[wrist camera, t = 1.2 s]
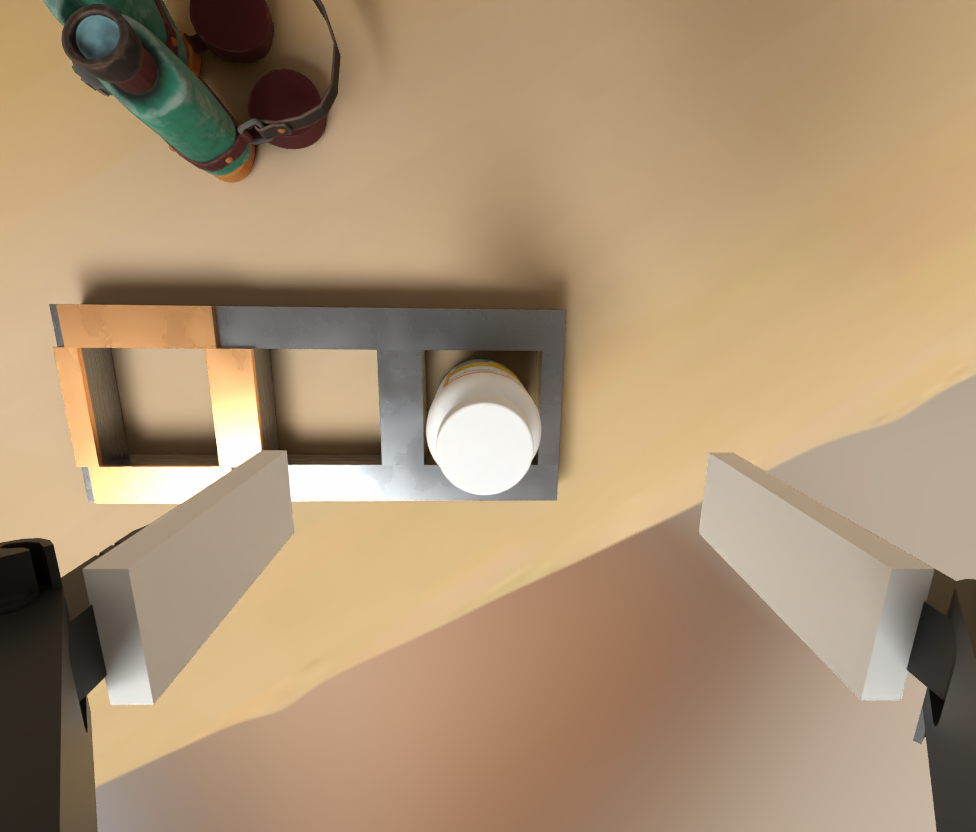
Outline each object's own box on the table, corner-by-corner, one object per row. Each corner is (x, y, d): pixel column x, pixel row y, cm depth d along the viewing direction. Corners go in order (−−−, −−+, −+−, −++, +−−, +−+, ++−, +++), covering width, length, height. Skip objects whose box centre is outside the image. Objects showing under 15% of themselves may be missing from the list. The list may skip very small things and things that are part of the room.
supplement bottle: (490, 461, 29) (498, 536, 20) (418, 411, 28) (391, 465, 19) (543, 392, 28) (579, 436, 19) (471, 339, 27) (470, 356, 18)
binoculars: (340, -18, 15) (69, 138, 15) (376, 124, 25) (216, 216, 25) (159, -352, 13) (-155, -177, 13) (279, -51, 23) (105, 48, 23)
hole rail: (114, 488, 29) (84, 503, 26) (80, 304, 26) (44, 304, 24) (551, 487, 30) (557, 502, 27) (559, 309, 27) (567, 310, 25)
